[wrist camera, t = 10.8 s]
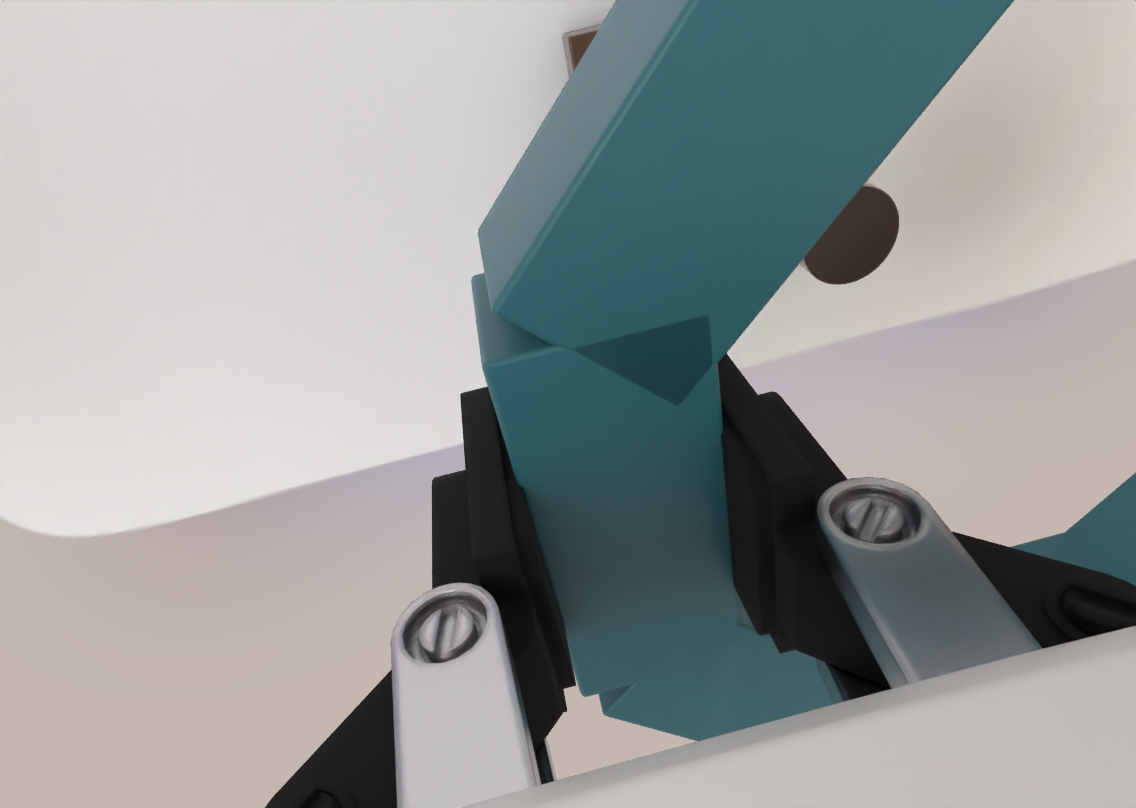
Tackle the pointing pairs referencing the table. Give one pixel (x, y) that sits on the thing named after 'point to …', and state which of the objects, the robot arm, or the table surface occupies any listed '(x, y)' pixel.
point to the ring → (691, 317)
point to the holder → (849, 239)
